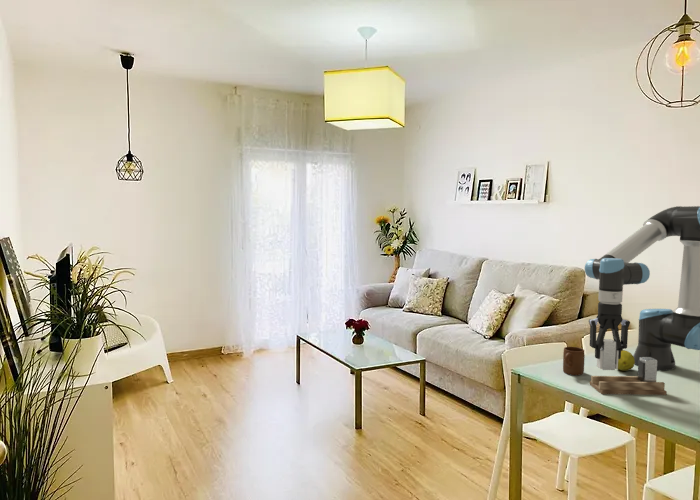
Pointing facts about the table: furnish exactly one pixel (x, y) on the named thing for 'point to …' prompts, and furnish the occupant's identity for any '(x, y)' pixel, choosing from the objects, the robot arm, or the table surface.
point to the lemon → (626, 361)
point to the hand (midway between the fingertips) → (607, 367)
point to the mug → (573, 360)
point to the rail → (626, 385)
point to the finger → (647, 369)
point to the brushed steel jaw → (609, 354)
